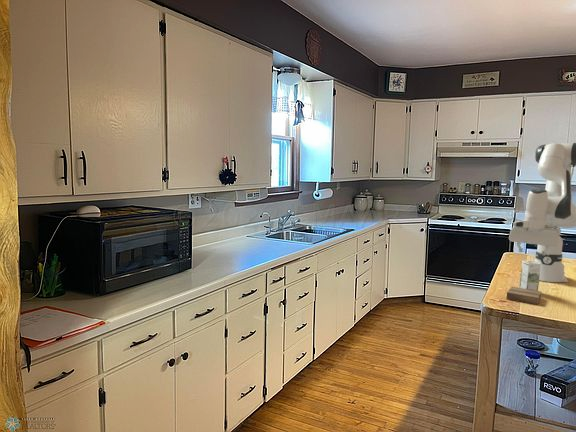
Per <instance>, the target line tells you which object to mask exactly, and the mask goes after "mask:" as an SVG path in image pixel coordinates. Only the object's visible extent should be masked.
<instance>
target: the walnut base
mask: <svg viewBox="0 0 576 432" xmlns="http://www.w3.org/2000/svg"><path fill="white" fill-rule="evenodd" d="M541 299H542V291H539V290H538V291H535V290H529V289H523V288H519V287H516V286H511V287H510V288H509V289H508V291H506V300H509V301H510V300H511V301H515V302H521V303H524V304H525V303H526V304H531V305H535V306H537V305H538V304H539V302H540V301H541Z"/></svg>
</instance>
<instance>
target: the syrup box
mask: <svg viewBox="0 0 576 432" xmlns="http://www.w3.org/2000/svg"><path fill="white" fill-rule="evenodd" d="M540 268H541V264H540V263H539V262H536V261H534V260H522V261H521V270H520V271H521V272H520V278H519V287H518V288H523V289H529V290H535V291H539V284H540V280H539V277H540Z"/></svg>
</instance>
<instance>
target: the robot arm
mask: <svg viewBox="0 0 576 432" xmlns="http://www.w3.org/2000/svg"><path fill="white" fill-rule="evenodd" d="M534 159H535V162H536V163H537V172H538V173H539V175H540V176H541V177H542V178H543V179H545V180H546V182H545V189H541V188H534V189H531V190H529V192H528V194H527V197H526V201H525V207H524V208H525V209H524V210H525V212H524V219H520V220H516V221H514V222H512V223H513V224H512V228H510V232H509V236H508V240H509V242H513V243H516V246H517V248H518V253H523V252H524V248H523V247H521V244H529V245H537V247H536V248H537V249H536V252H535V259H533V261H536V262H539V263H540V264H541V268H540V277H539V281H542V282H548V283H569V281H568V279H567V277H566V276H565V274H566V272H565V265H564V263H563V262H562V261H563V244H564V243H563V242H564V241H563V238H562V236H561V234H562V233H561V232H562V230H561V228H562V229H571V228H576V206H575V205H574V203H573V199H572V176H573V175H572V173H573V172H572V168H575V167H576V142H572V143H571V142H559V143H557V142H553V143H549V144H541V145H538V146H537V147H536V149H535V152H534Z"/></svg>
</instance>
